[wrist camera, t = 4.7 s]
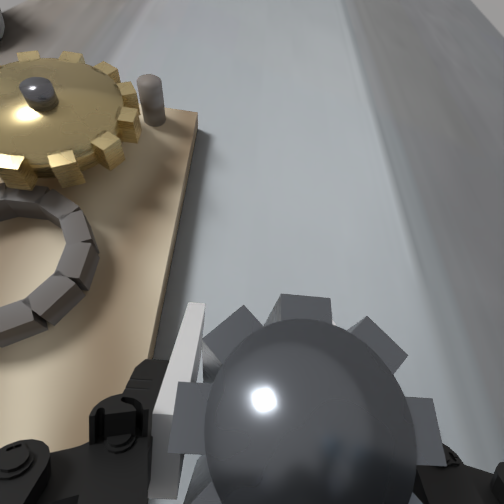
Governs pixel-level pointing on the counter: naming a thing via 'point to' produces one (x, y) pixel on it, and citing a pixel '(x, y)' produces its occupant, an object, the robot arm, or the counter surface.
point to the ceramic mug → (1, 25)
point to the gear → (62, 119)
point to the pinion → (302, 413)
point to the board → (88, 278)
